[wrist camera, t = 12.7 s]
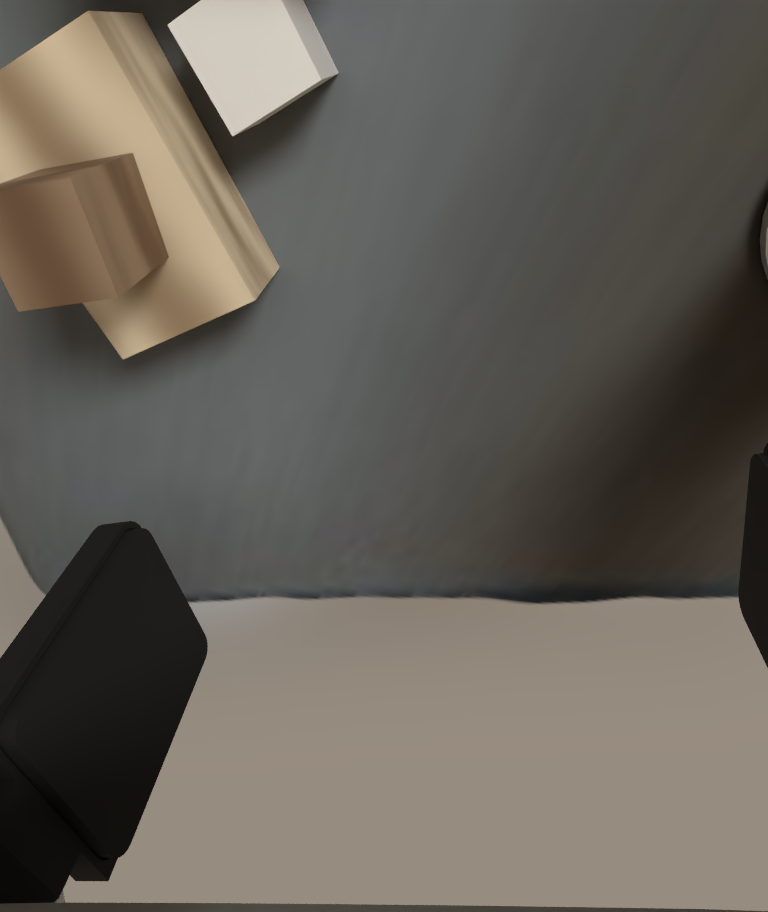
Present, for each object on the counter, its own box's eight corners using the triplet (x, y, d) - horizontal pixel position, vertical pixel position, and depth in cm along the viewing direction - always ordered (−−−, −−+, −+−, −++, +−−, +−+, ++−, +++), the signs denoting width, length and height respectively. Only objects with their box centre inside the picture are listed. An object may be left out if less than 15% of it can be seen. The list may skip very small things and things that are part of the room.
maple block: (144, 13, 33) (88, 10, 28) (280, 266, 39) (254, 300, 34) (15, 97, 36) (-57, 108, 31) (163, 320, 42) (123, 359, 37)
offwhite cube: (286, -35, 31) (259, -44, 27) (338, 73, 33) (321, 79, 29) (204, 25, 33) (167, 24, 28) (259, 123, 35) (232, 136, 31)
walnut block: (132, 152, 31) (70, 177, 26) (169, 256, 34) (118, 297, 29) (39, 169, 32) (-39, 197, 27) (81, 269, 34) (18, 311, 29)
